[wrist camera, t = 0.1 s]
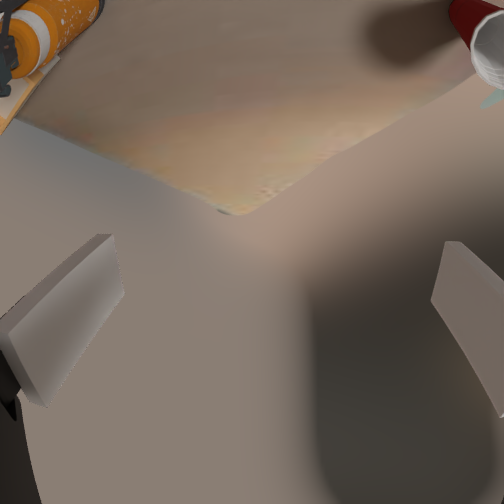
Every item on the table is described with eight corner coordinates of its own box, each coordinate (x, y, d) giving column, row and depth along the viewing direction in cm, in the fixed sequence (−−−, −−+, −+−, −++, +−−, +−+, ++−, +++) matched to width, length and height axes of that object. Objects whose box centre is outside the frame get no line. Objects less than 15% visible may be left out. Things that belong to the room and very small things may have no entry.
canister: (54, 29, 31) (-31, 113, 21) (49, -35, 21) (-58, 27, 11) (107, 25, 32) (28, 108, 22) (107, -45, 23) (5, 4, 13)
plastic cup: (415, 9, 28) (455, 45, 22) (465, -34, 20) (519, -7, 14) (461, 60, 32) (501, 107, 26) (507, 23, 24) (556, 65, 18)
